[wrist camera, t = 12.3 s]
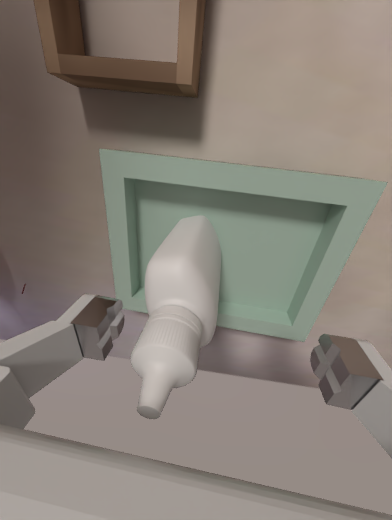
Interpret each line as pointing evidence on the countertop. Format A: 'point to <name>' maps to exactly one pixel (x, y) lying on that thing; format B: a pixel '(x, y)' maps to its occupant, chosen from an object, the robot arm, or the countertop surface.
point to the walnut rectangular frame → (115, 69)
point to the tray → (239, 232)
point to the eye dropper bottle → (177, 311)
